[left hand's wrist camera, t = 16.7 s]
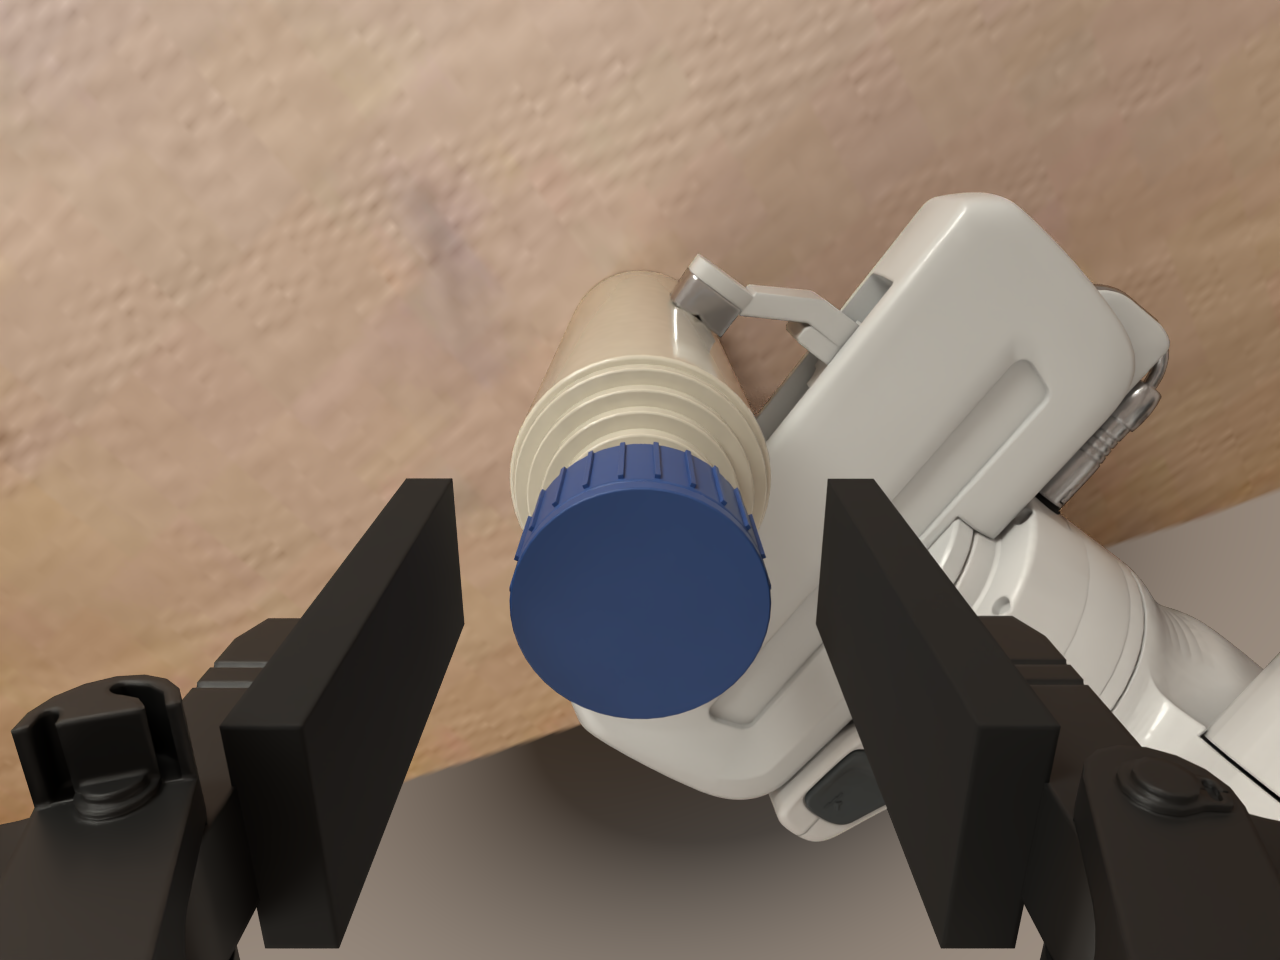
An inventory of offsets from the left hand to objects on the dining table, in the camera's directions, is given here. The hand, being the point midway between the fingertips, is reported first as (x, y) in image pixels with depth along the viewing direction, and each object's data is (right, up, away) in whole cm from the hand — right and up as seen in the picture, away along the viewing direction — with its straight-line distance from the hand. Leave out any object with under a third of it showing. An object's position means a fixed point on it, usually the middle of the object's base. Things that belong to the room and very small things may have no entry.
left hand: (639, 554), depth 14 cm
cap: (0, -1, -1) cm, 2 cm away
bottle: (0, +6, +17) cm, 18 cm away
